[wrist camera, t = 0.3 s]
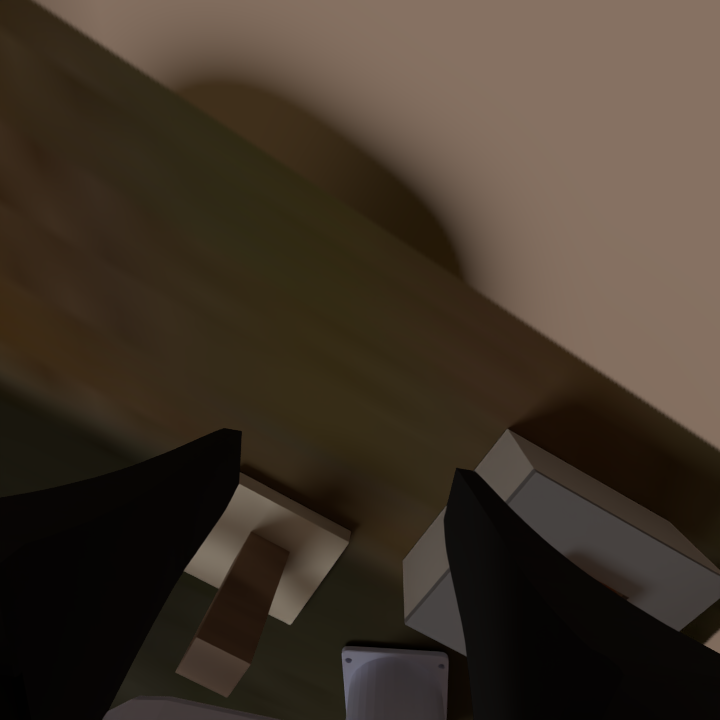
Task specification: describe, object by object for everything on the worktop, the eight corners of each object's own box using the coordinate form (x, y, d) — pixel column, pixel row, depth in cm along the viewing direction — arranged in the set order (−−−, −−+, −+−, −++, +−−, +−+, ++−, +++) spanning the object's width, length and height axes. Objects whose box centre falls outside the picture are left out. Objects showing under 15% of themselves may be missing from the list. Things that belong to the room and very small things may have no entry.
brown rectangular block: (271, 580, 25) (227, 697, 18) (233, 560, 25) (175, 672, 18) (289, 551, 24) (250, 664, 18) (251, 531, 24) (196, 637, 17)
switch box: (546, 637, 26) (576, 714, 21) (402, 560, 25) (404, 624, 21) (669, 521, 22) (735, 585, 18) (507, 428, 21) (535, 472, 17)
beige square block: (294, 612, 27) (290, 625, 26) (188, 557, 27) (180, 569, 26) (351, 531, 25) (349, 542, 24) (235, 469, 24) (228, 478, 23)
